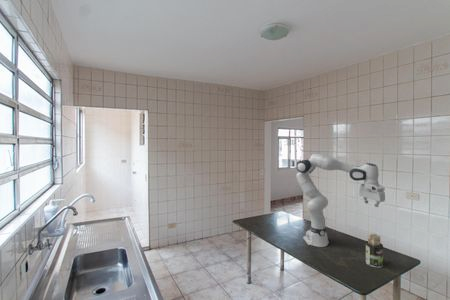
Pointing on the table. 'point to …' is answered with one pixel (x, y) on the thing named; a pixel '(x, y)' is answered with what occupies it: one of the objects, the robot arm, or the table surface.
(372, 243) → the beech block
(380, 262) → the coffee can
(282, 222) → the table surface
